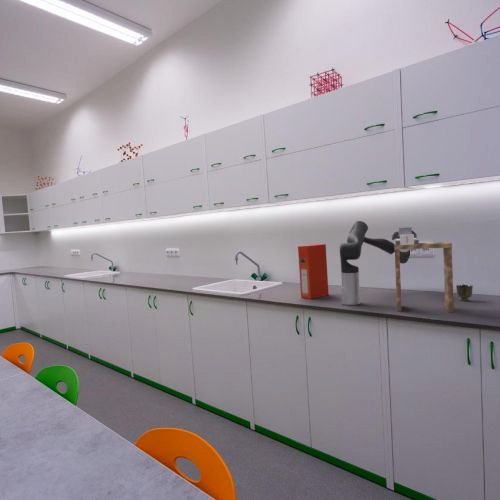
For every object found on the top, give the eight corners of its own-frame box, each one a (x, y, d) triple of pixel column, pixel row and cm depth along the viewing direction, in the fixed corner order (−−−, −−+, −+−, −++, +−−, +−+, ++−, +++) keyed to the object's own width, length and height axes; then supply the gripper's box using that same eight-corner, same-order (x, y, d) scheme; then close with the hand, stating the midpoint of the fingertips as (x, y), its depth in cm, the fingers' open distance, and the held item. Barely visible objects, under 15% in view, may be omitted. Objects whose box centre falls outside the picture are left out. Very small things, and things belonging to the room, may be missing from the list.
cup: (453, 300, 188) (452, 285, 188) (462, 298, 191) (462, 283, 191) (466, 302, 181) (466, 287, 181) (476, 300, 184) (476, 285, 184)
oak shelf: (397, 311, 172) (394, 245, 170) (396, 305, 184) (394, 243, 182) (454, 312, 163) (451, 243, 161) (449, 306, 175) (447, 241, 173)
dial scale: (395, 245, 169) (395, 234, 169) (395, 243, 182) (395, 234, 181) (418, 244, 166) (418, 233, 166) (417, 242, 178) (416, 232, 178)
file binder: (300, 298, 220) (297, 246, 218) (318, 293, 231) (315, 244, 229) (311, 299, 214) (308, 246, 212) (328, 294, 225) (326, 244, 223)
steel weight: (399, 235, 184) (398, 228, 184) (398, 234, 202) (398, 227, 202) (411, 235, 182) (411, 227, 182) (410, 234, 200) (409, 226, 200)
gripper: (391, 238, 214) (390, 224, 200) (416, 237, 209) (418, 222, 195) (391, 249, 211) (390, 235, 197) (417, 248, 206) (418, 234, 192)
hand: (404, 229), depth 196 cm, fingers closed on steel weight, 3 cm apart
